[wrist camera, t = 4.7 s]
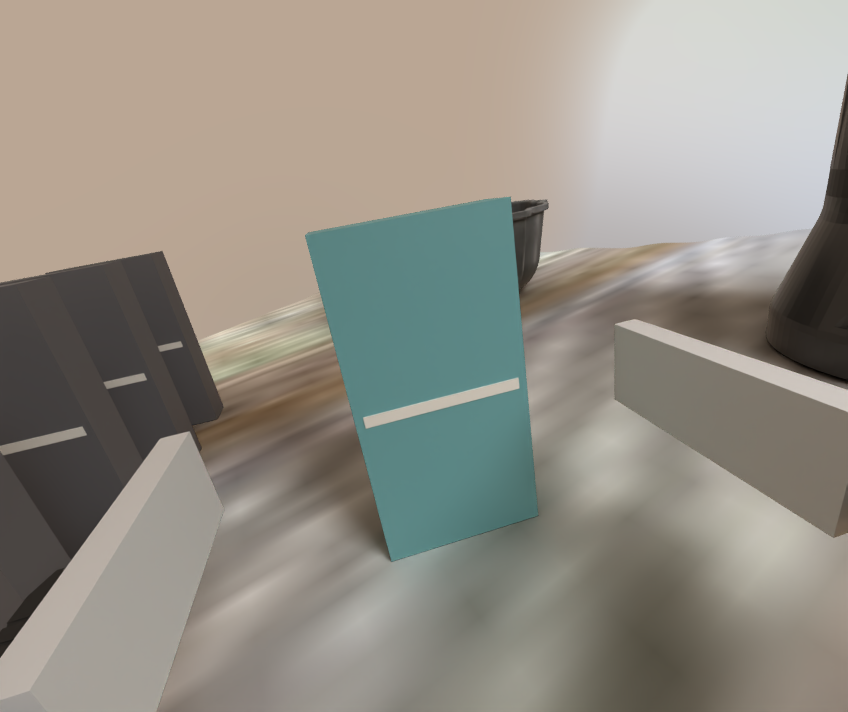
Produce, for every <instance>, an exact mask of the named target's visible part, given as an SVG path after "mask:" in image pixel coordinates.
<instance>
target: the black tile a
mask: <svg viewBox="0 0 848 712" xmlns="http://www.w3.org/2000/svg"><path fill="white" fill-rule="evenodd" d="M70 562H71V559H70V558H69V556H68V555H67V553H66V552H65V550H64V549H63V547H62V545H61V544H60V542H59V541H58V539H57V538H56V536H55V535H54V533H53V532H52V530H51V529H50V527H49V525H48V524H47V522H46V521H45V519H44V518H43V516H42V515H41V513H40V512H39V510H38V508H37V507H36V505H35V504H34V502H33V501H32V499H31V498H30V496H29V495H28V493H27V492H26V490H25V488H24V487H23V485H22V484H21V482H20V481H19V479H18V478H17V476H16V475H15V473H14V472H13V470H12V468H11V467H10V465H9V464H8V462H7V461H6V459H5V458H4V456H3V455H2V453H1V451H0V631H1V630H2V629H3V628H6V627H7V622H8V621H9V619H10V618H11V617H12V616H13V614H14V613H15V612H16V610H17V609H18V608H19V607H20V605H21V604H22V603H23V601H24V600H25V599H26V597H27V596H28V595H29V594H30V593H32V592H33V591H34V590H35V589H36V588H37V587H38V586H39V585H40V584H42V583H43V582H44V581H45V580H46V579H47V578H48V577H49V576H51V575H52V574H53V573H54V572H55V571H56V570H59V569H62V568H66V567H67V566H68V564H69V563H70Z"/></svg>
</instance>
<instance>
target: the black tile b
mask: <svg viewBox="0 0 848 712" xmlns="http://www.w3.org/2000/svg"><path fill="white" fill-rule="evenodd" d="M0 451H1V453H2V455H3V456H4V458H5V459H6V461H7V462H8V464H9V465H10V467H11V468H12V470H13V472H14V473H15V475H16V476H17V478H18V479H19V481H20V482H21V484H22V485H23V487H24V488H25V490H26V492H27V493H28V495H29V496H30V498H31V499H32V501H33V502H34V504H35V505H36V507H37V508H38V510H39V512H40V513H41V515H42V516H43V518H44V519H45V521H46V522H47V524H48V525H49V527H50V529H51V530H52V532H53V533H54V535H55V536H56V538H57V539H58V541H59V542H60V544H61V545H62V547H63V549H64V550H65V552H66V553H67V555H68V556H69V558H70V559H71V560H72V559H73V557H74V556H75V555H76V553H77V552H78V551H79V549H80V548H81V546H82V545H83V544H84V542H85V541H86V540H87V538H88V537H89V536H90V534H91V533H92V531H93V530H94V529H95V527H96V526H97V525H98V523H99V522H100V520H101V519H102V518H103V516H104V515H105V514H106V512H107V511H108V509H109V508H110V507H111V505H112V504H113V503H114V501H115V500H116V498H117V497H118V496H119V494H120V493H121V492H122V490H123V489H124V487H125V486H126V485H127V483H128V482H129V481H130V479H131V478H132V477H133V475H134V474H135V472H136V471H137V470H138V468H139V467H140V466H141V464H142V463H143V460H142V458H141V456H140V454H139V452H138V450H137V448H136V446H135V444H134V442H133V440H132V438H131V436H130V434H129V432H128V430H127V428H126V426H125V424H124V422H123V420H122V418H121V416H120V414H119V412H118V410H117V408H116V406H115V404H114V402H113V400H112V398H111V396H110V394H109V392H108V390H107V388H106V386H105V384H104V382H103V380H102V378H101V376H100V374H99V372H98V370H97V368H96V366H95V364H94V362H93V360H92V358H91V356H90V354H89V352H88V350H87V348H86V346H85V344H84V342H83V340H82V339H81V337H80V335H79V333H78V331H77V329H76V327H75V325H74V323H73V321H72V319H71V317H70V315H69V313H68V311H67V309H66V307H65V305H64V303H63V301H62V299H61V297H60V295H59V293H58V291H57V289H56V287H55V285H54V283H53V281H52V279H51V277H44V278H39V279H33V280H28V281H23V282H17V283H12V284H7V285H1V286H0Z"/></svg>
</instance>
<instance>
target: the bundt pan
mask: <svg viewBox="0 0 848 712" xmlns="http://www.w3.org/2000/svg"><path fill="white" fill-rule="evenodd" d="M511 207H512V218H513V230H514V242H515V253H516V265H517V276H518V288H519V289H520V288H522V287H523V286H525V285H526V284H527V283H528V282H529V281H530V279H531V278H532V277H533V275H534V273H535V271H536V269H537V266H538V263H539V257H540V245H541V236H542V226H543V215H544V210H546V209H548V202H547V200H523V201H514V202H511Z"/></svg>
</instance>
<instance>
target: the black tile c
mask: <svg viewBox="0 0 848 712" xmlns="http://www.w3.org/2000/svg"><path fill="white" fill-rule="evenodd" d="M44 277H51V279H52V281H53V283H54V285H55V287H56V289H57V291H58V293H59V295H60V297H61V299H62V301H63V303H64V305H65V307H66V309H67V311H68V313H69V315H70V317H71V319H72V321H73V323H74V325H75V327H76V329H77V331H78V333H79V335H80V337H81V339H82V340H83V342H84V344H85V346H86V348H87V350H88V352H89V354H90V356H91V358H92V360H93V362H94V364H95V366H96V368H97V370H98V372H99V374H100V376H101V378H102V380H103V382H104V384H105V386H106V388H107V390H108V392H109V394H110V396H111V398H112V400H113V402H114V404H115V406H116V408H117V410H118V412H119V414H120V416H121V418H122V420H123V422H124V424H125V426H126V428H127V430H128V432H129V434H130V436H131V438H132V440H133V442H134V444H135V446H136V448H137V450H138V452H139V454H140V456H141V458H142V460H143V461H144V460H145V459H146V457H147V456H148V455H149V453H150V452H151V450H152V449H153V448H154V446H155V445H156V444H157V442H158V441H159V439H161V438H165V437H168V436H172V435H176V434H180V433H184V432H188V431H190V433H191V435H192V438H193V440H194V442H195V444H196V447H197V449H198V451H199V452H200V450H201V445H200V443H199V441H198V438H197V436H196V434H195V432H194V429H193V427H192V425H191V422H190V420H189V418H188V415H187V413H186V411H185V408H184V406H183V404H182V401H181V399H180V397H179V395H178V392H177V390H176V388H175V385H174V383H173V381H172V378H171V376H170V374H169V371H168V369H167V367H166V365H165V362H164V360H163V358H162V355H161V353H160V351H159V348H158V346H157V344H156V341H155V339H154V337H153V334H152V332H151V330H150V328H149V325H148V323H147V321H146V318H145V316H144V314H143V311H142V309H141V307H140V304H139V302H138V300H137V297H136V295H135V293H134V291H133V288H132V286H131V284H130V281H129V279H128V277H127V274H126V272H125V270H124V267H123V265H122V263H121V261H115V262H110V263H104V264H99V265H94V266H88V267H83V268H77V269H72V270H67V271H61V272H56V273H50V274H45V275H39V276H34V277H29V278H23V279H18V280H12V281H7V282H2V283H0V286H1V285H7V284H12V283H17V282H23V281H28V280H33V279H39V278H44Z"/></svg>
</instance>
